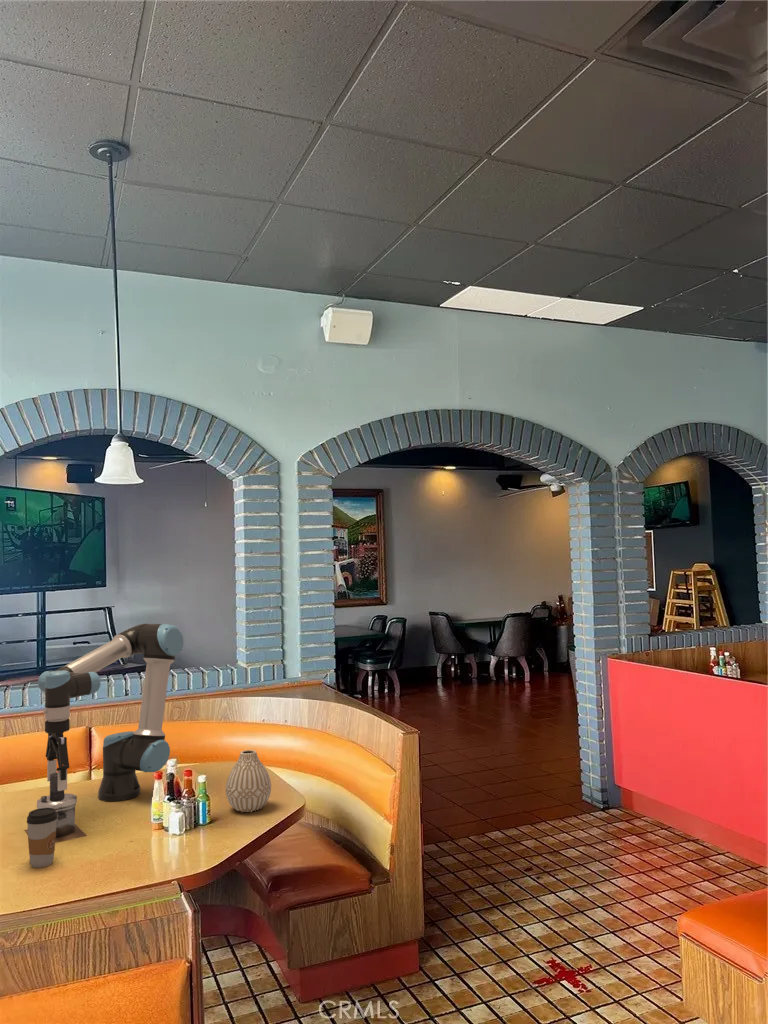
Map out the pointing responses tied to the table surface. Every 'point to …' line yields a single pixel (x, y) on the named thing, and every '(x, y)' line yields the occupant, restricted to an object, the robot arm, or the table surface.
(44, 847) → the coffee cup
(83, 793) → the table surface
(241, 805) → the vase
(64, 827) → the cooker pot
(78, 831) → the walnut board
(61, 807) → the lid
